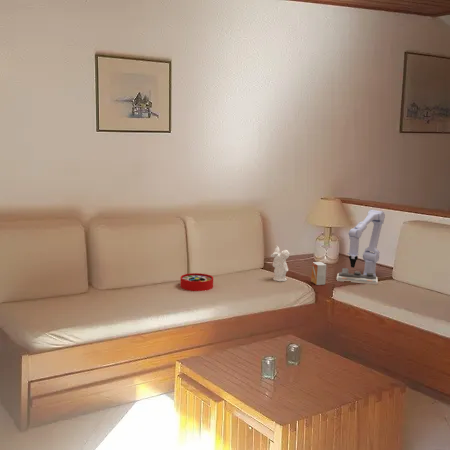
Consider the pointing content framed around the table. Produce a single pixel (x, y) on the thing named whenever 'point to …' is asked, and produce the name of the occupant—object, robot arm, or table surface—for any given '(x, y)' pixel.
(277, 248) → the cherub figurine
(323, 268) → the small box
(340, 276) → the switch panel
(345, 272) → the switch
